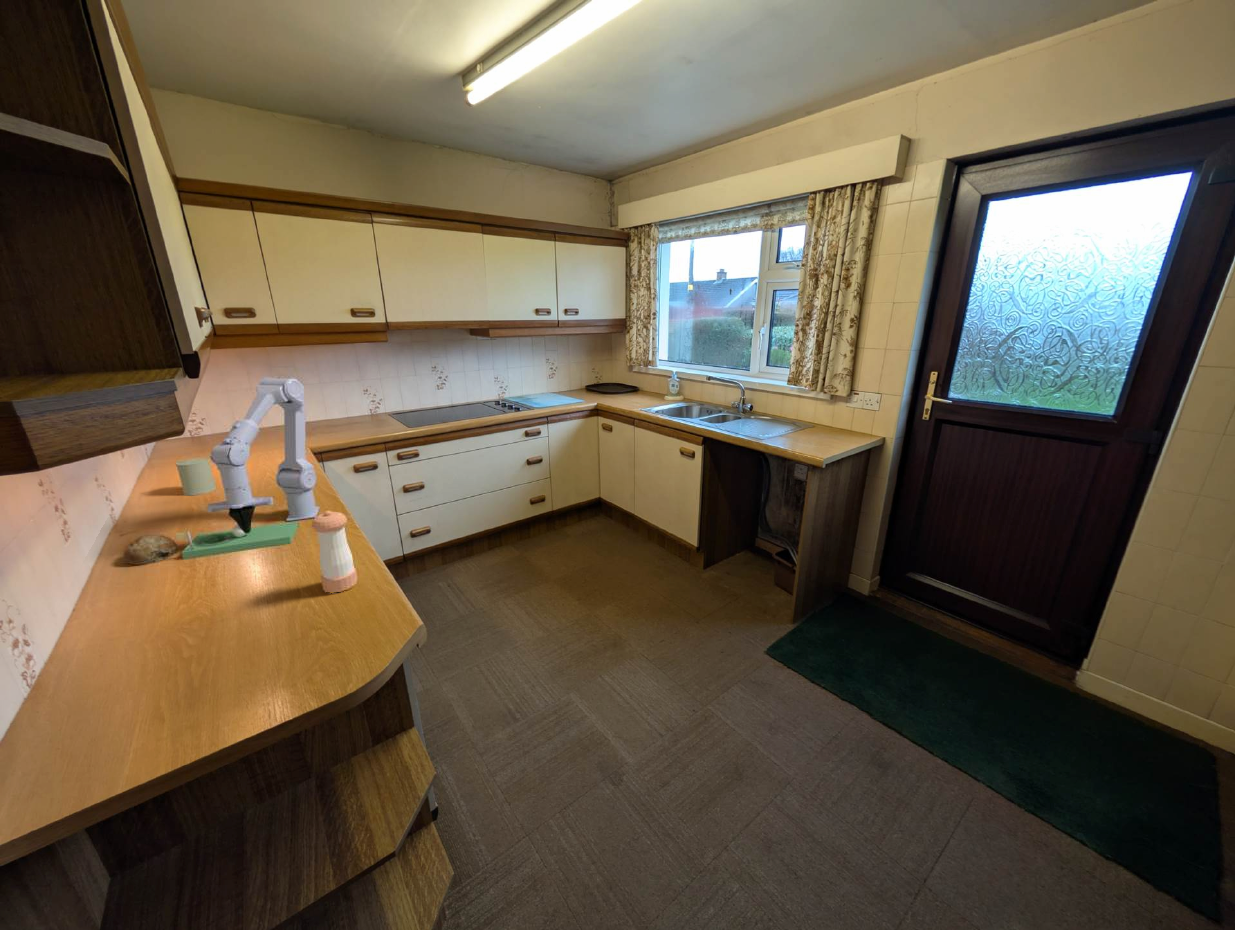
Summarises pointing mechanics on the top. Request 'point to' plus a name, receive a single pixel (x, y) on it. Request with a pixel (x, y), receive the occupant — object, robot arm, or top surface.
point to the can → (196, 476)
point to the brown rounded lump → (149, 549)
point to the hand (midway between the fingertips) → (247, 531)
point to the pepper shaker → (334, 552)
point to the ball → (238, 531)
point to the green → (238, 540)
